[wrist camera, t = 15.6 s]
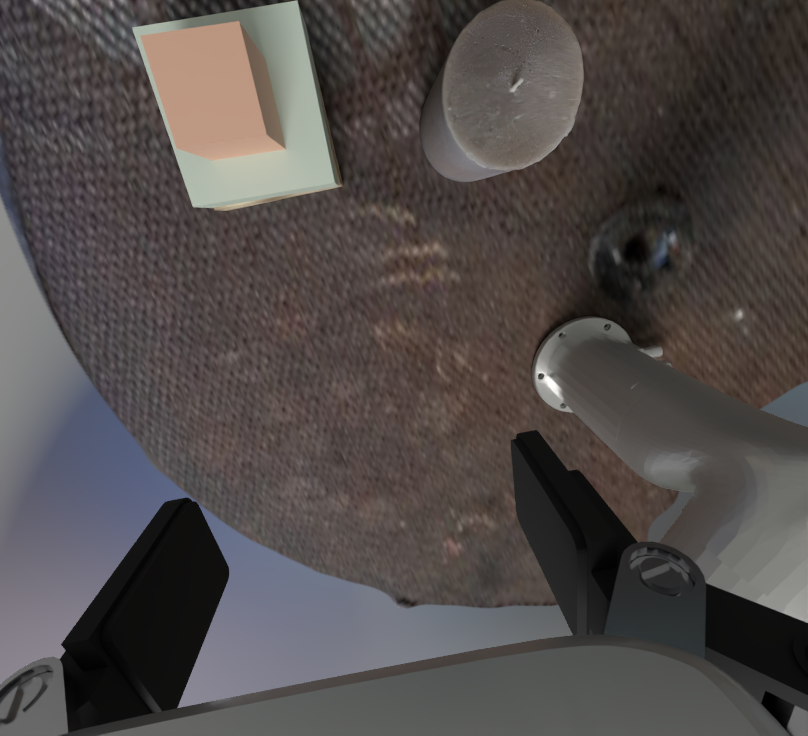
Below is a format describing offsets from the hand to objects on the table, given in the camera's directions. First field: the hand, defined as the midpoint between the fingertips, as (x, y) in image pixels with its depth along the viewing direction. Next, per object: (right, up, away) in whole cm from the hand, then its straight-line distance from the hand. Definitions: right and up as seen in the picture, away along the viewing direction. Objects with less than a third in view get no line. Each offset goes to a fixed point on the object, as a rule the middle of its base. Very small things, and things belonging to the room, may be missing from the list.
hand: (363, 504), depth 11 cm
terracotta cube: (-12, +24, +19) cm, 33 cm away
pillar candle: (+7, +28, +27) cm, 39 cm away
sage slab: (-12, +25, +22) cm, 36 cm away
